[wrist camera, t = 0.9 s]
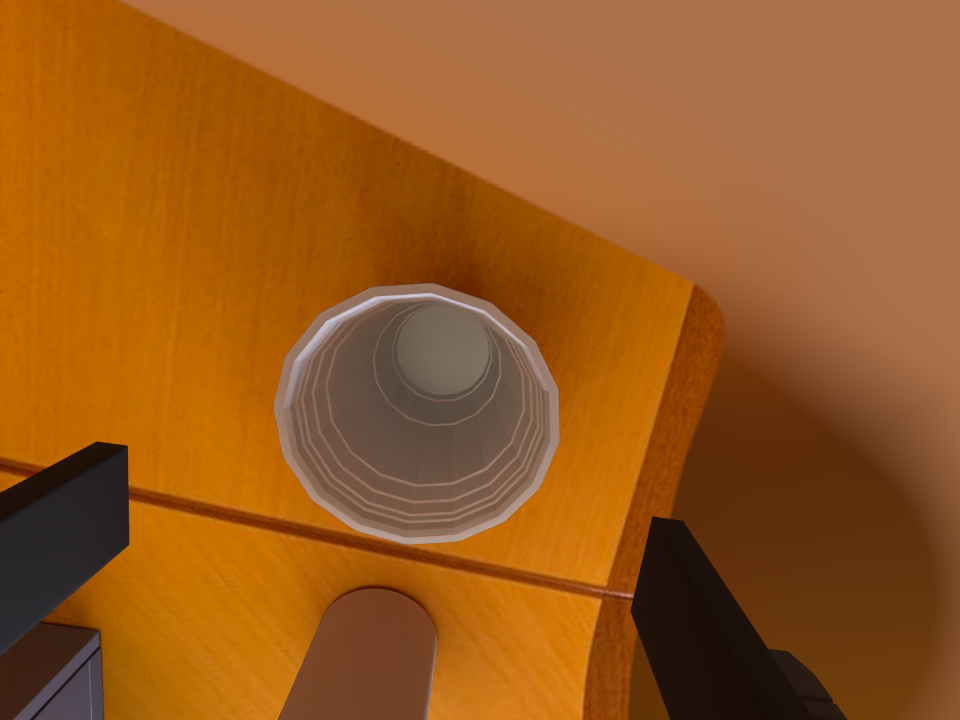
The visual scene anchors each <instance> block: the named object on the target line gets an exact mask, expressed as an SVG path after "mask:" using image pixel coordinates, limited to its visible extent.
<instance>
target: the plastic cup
mask: <svg viewBox="0 0 960 720" xmlns="http://www.w3.org/2000/svg"><path fill="white" fill-rule="evenodd" d="M273 408H274V413H275V418H276V423H277V428H278V433H279V438H280V443H281V448H282V453H283V458H284V459H285V461H286V462H287V464H288V465H289V467H290V468H291V470H292V471H293V473H294V474H295V475H296V477H297V478H298V480H299V481H300V483H301V484H302V486H303V487H304V489H305V490H306V492H307V493H308V495H309V496H310V497H311V499H312V500H313V501H314V502H315V503H317V504H318V505H320V506H321V507H323V508H324V509H325V510H327V511H328V512H330V513H331V514H333V515H334V516H335V517H337V518H338V519H340V520H341V521H343V522H344V523H345V524H347V525H348V526H350V527H351V528H353V529H354V530H355V531H359V532H363V533H366V534H370V535H373V536H377V537H380V538H384V539H387V540H391V541H395V542H398V543H402V544H405V545H407V544H425V543H443V542H458V541H460V540H462V539H465V538H467V537H470V536H472V535H474V534H477V533H479V532H481V531H484V530H486V529H489V528H491V527H493V526H496V525H498V524H501V523H503V522H505V521H506V520H507V519H508V518H509V517H510V516H511V515H512V514H513V513H514V512H515V511H516V510H517V509H518V508H519V507H520V506H521V505H522V504H523V503H524V502H525V501H526V500H527V499H529V498H530V497H531V496H532V495H533V494H534V493H535V492H536V491H537V490H538V489H539V488H540V486H541V484H542V482H543V479H544V477H545V475H546V472H547V470H548V468H549V465H550V463H551V461H552V458H553V456H554V454H555V451H556V449H557V447H558V444H559V442H560V433H559V390H558V388H557V386H556V383H555V381H554V379H553V377H552V375H551V373H550V371H549V369H548V367H547V365H546V363H545V361H544V359H543V356H542V354H541V352H540V350H539V348H538V346H537V344H536V342H535V340H534V339H533V338H531V337H530V336H529V335H528V334H527V333H526V332H524V331H523V330H522V329H521V328H520V327H519V326H518V325H516V324H515V323H514V322H513V321H512V320H511V319H509V318H508V317H507V316H506V315H505V314H504V313H503V312H501V311H500V310H499V309H498V308H497V307H496V306H494V305H493V304H492V303H491V302H489V301H486V300H483V299H480V298H477V297H474V296H471V295H468V294H465V293H462V292H459V291H456V290H453V289H450V288H447V287H444V286H441V285H438V284H435V283H423V284H408V285H393V286H378V287H371V288H369V289H367V290H365V291H363V292H361V293H359V294H357V295H355V296H353V297H351V298H349V299H347V300H345V301H343V302H341V303H339V304H337V305H335V306H333V307H331V308H329V309H327V310H325V311H323V312H321V313H320V314H319V315H318V316H317V317H316V319H315V320H314V321H313V322H312V324H311V325H310V326H309V327H308V329H307V330H306V331H305V332H304V334H303V335H302V336H301V337H300V339H299V340H298V341H297V342H296V344H295V345H294V346H293V347H292V349H291V350H290V351H289V352H288V354H287V355H286V356H285V360H284V364H283V369H282V373H281V377H280V381H279V385H278V390H277V394H276V398H275V402H274V407H273Z"/></svg>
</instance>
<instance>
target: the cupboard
mask: <svg viewBox="0 0 960 720" xmlns="http://www.w3.org/2000/svg"><path fill="white" fill-rule="evenodd" d="M30 720H104V717H103V690H102V663H101V648H100V647H97V648H96V649H95V650H94V652H93V653H92V654H91V655H90V656H89V657H88V658H87V659H86V660H85V661H84V662H83V663H82V664H81V665H80V666H79V668H78V669H77V670H76V671H75V672H74V673H73V674H72V675H71V676H70V677H69V678H68V679H67V680H66V681H65V682H64V684H63V685H62V686H61V687H60V688H59V689H58V690H57V691H56V692H55V693H54V694H53V695H52V696H51V697H50V698H49V699H48V701H47V702H46V703H45V704H44V705H43V706H42V707H41V708H40V709H39V710H38V711H37V712H36V713H35V714H34V715H33V717H32V718H31V719H30Z"/></svg>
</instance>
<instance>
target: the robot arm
mask: <svg viewBox="0 0 960 720" xmlns="http://www.w3.org/2000/svg"><path fill="white" fill-rule="evenodd" d="M128 545H129V492H128V446H126V445H119V444H111V443H104V442H95V443H93V444H91V445H89V446H87V447H86V448H84V449H82V450H80V451H78V452H76V453H74V454H72V455H71V456H69V457H67V458H65V459H63V460H61V461H59V462H57V463H55V464H54V465H52V466H50V467H48V468H46V469H44V470H42V471H40V472H39V473H37V474H35V475H33V476H31V477H29V478H27V479H25V480H24V481H22V482H20V483H18V484H16V485H14V486H12V487H10V488H8V489H7V490H5V491H3V492H1V493H0V656H1V655H2V654H3V653H4V652H6V651H7V650H8V649H9V648H10V647H11V646H13V645H14V644H15V643H16V642H17V641H18V640H20V639H21V638H22V637H23V636H24V635H25V634H26V633H28V632H29V631H30V630H31V629H32V628H33V627H35V626H36V625H37V624H38V623H39V622H40V621H42V620H43V619H44V618H45V617H46V616H47V615H48V614H50V613H51V612H52V611H53V610H54V609H55V608H57V607H58V606H59V605H60V604H61V603H62V602H63V601H65V600H66V599H67V598H68V597H69V596H70V595H72V594H73V593H74V592H75V591H76V590H77V589H79V588H80V587H81V586H82V585H83V584H84V583H85V582H87V581H88V580H89V579H90V578H91V577H92V576H94V575H95V574H96V573H97V572H98V571H99V570H101V569H102V568H103V567H104V566H105V565H106V564H107V563H109V562H110V561H111V560H112V559H113V558H114V557H116V556H117V555H118V554H119V553H120V552H121V551H122V550H124V549H125V548H126V547H127V546H128ZM631 614H632V617H633V619H634V622H635V625H636V628H637V630H638V633H639V636H640V638H641V641H642V644H643V647H644V649H645V652H646V655H647V657H648V660H649V663H650V666H651V668H652V671H653V674H654V676H655V679H656V682H657V685H658V687H659V690H660V692H661V695H662V698H663V701H664V704H665V706H666V709H667V711H668V715H669V717H670V720H847V718H846V717H845V716H844V714H843V713H842V712H841V710H840V709H839V708H838V706H837V705H836V704H833V701H832V700H833V699H832V698H831V697H830V695H829V694H828V692H827V691H826V690H825V688H824V687H823V686H822V684H821V683H820V681H819V680H818V679H817V678H816V676H815V675H814V674H813V673H812V672H811V671H810V670H809V669H807V668H806V667H805V666H804V665H803V664H802V663H801V662H800V661H798V660H797V659H796V658H795V657H794V656H793V655H792V654H790V653H789V652H788V651H780V650H773V649H768V648H767V647H766V645H765V644H764V642H763V641H762V639H761V638H760V636H759V635H758V633H757V632H756V630H755V629H754V627H753V626H752V624H751V623H750V621H749V620H748V618H747V617H746V615H745V614H744V612H743V611H742V609H741V608H740V606H739V605H738V603H737V602H736V600H735V599H734V597H733V596H732V594H731V593H730V591H729V590H728V588H727V587H726V585H725V583H724V582H723V580H722V579H721V577H720V576H719V574H718V573H717V571H716V570H715V568H714V567H713V566H712V564H711V562H710V561H709V559H708V558H707V557H706V555H705V553H704V552H703V550H702V549H701V547H700V546H699V545H698V543H697V541H696V540H695V539H694V537H693V535H692V534H691V533H690V531H689V529H688V528H687V526H686V525H685V523H684V522H683V521H681V520H674V519H667V518H659V517H652V521H651V525H650V530H649V534H648V538H647V543H646V547H645V551H644V555H643V560H642V564H641V568H640V572H639V577H638V581H637V585H636V590H635V594H634V598H633V602H632V607H631Z"/></svg>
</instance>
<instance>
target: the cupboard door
mask: <svg viewBox="0 0 960 720" xmlns="http://www.w3.org/2000/svg"><path fill="white" fill-rule="evenodd" d="M98 646H99V631H96V630H88V629H80V628H73V627H65V626H58V625H50V624H43V623H38V624H37V625H36V626H35V627H33V628H32V629H31V630H30V631H29V632H28V633H26V634H25V635H24V636H23V637H22V638H21V639H20V640H18V641H17V642H16V643H15V644H14V645H13V646H11V647H10V648H9V649H8V650H7V651H6V652H4V653H3V654H2V655H1V656H0V720H30V719H31V718H32V717H33V715H34V714H35V713H36V712H37V711H38V710H39V709H40V708H41V707H42V706H43V705H44V704H45V703H46V702H47V701H48V699H49V698H50V697H51V696H52V695H53V694H54V693H55V692H56V691H57V690H58V689H59V688H60V687H61V686H62V685H63V684H64V682H65V681H66V680H67V679H68V678H69V677H70V676H71V675H72V674H73V673H74V672H75V671H76V670H77V669H78V668H79V666H80V665H81V664H82V663H83V662H84V661H85V660H86V659H87V658H88V657H89V656H90V655H91V654H92V653H93V652H94V650H95V649H96V648H97V647H98Z"/></svg>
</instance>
